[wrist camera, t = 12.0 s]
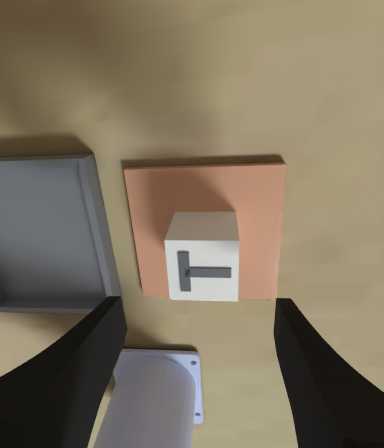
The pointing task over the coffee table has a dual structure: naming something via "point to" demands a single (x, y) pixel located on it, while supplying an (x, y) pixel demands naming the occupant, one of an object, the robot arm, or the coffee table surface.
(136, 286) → the coffee table surface
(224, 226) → the letter cube
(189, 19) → the coffee table surface
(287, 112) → the coffee table surface
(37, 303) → the sorting tray
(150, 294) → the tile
